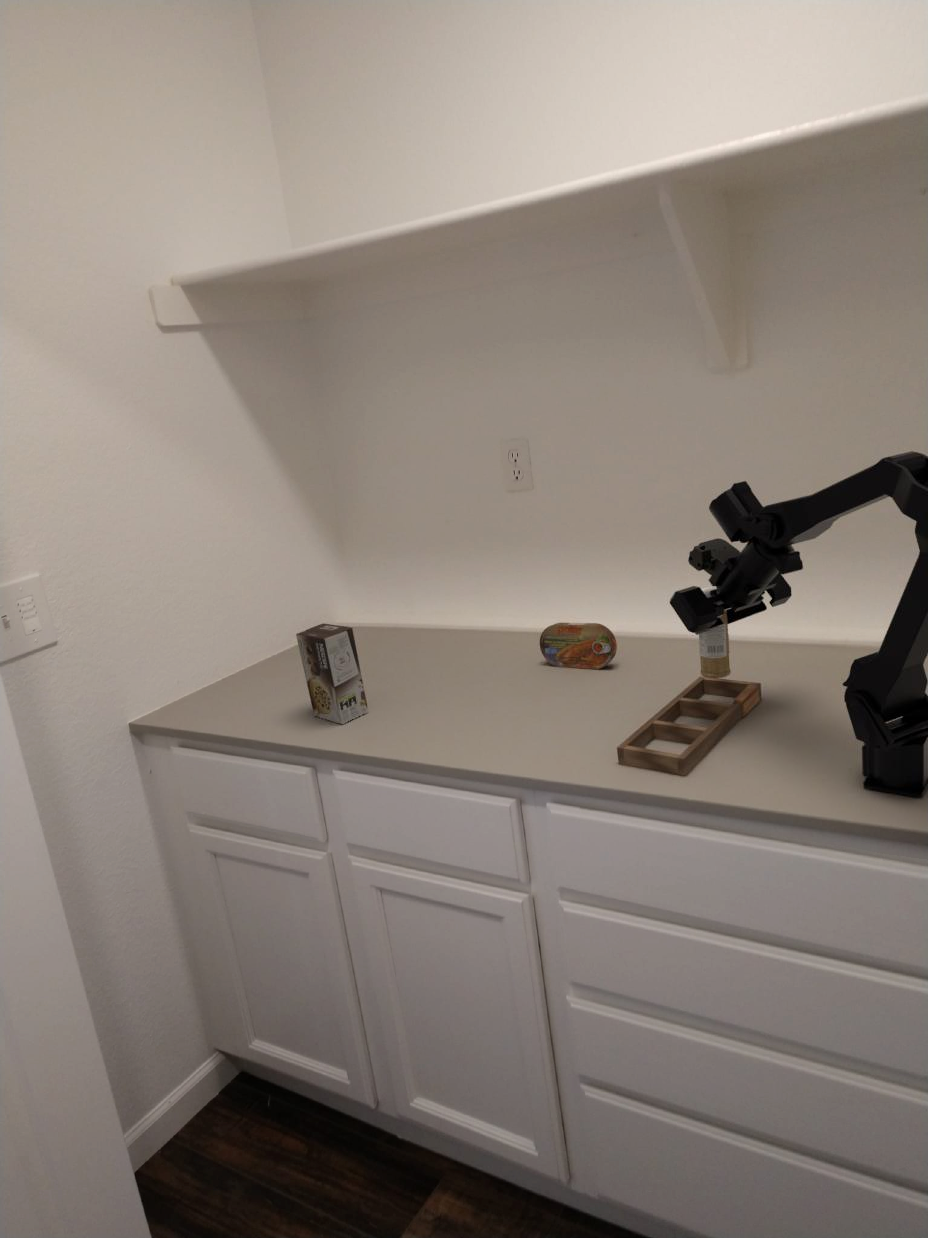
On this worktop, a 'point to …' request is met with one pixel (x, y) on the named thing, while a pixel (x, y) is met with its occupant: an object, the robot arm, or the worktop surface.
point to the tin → (578, 645)
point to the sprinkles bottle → (715, 648)
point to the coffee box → (332, 672)
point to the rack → (697, 736)
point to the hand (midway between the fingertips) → (707, 628)
